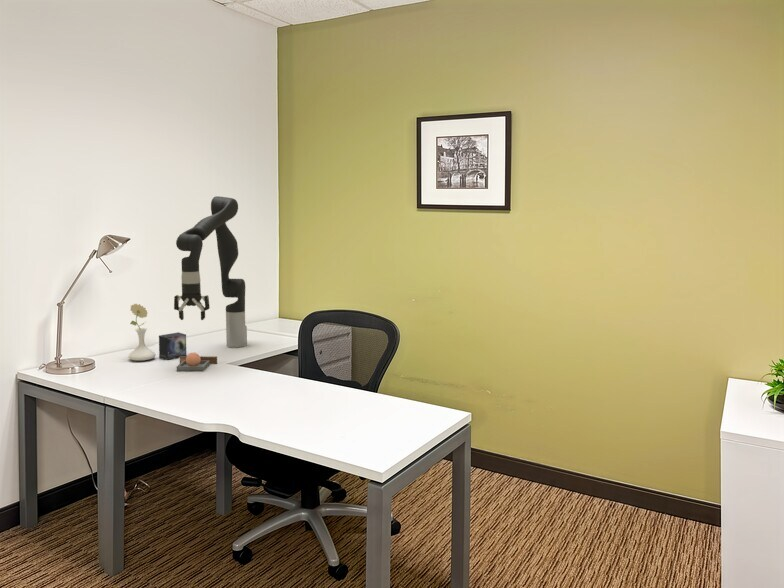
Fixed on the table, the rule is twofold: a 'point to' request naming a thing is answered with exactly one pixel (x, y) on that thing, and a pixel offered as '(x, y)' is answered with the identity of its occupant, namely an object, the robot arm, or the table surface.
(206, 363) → the tray
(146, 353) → the flower in vase
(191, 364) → the ball
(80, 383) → the table surface
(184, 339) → the small box
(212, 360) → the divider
